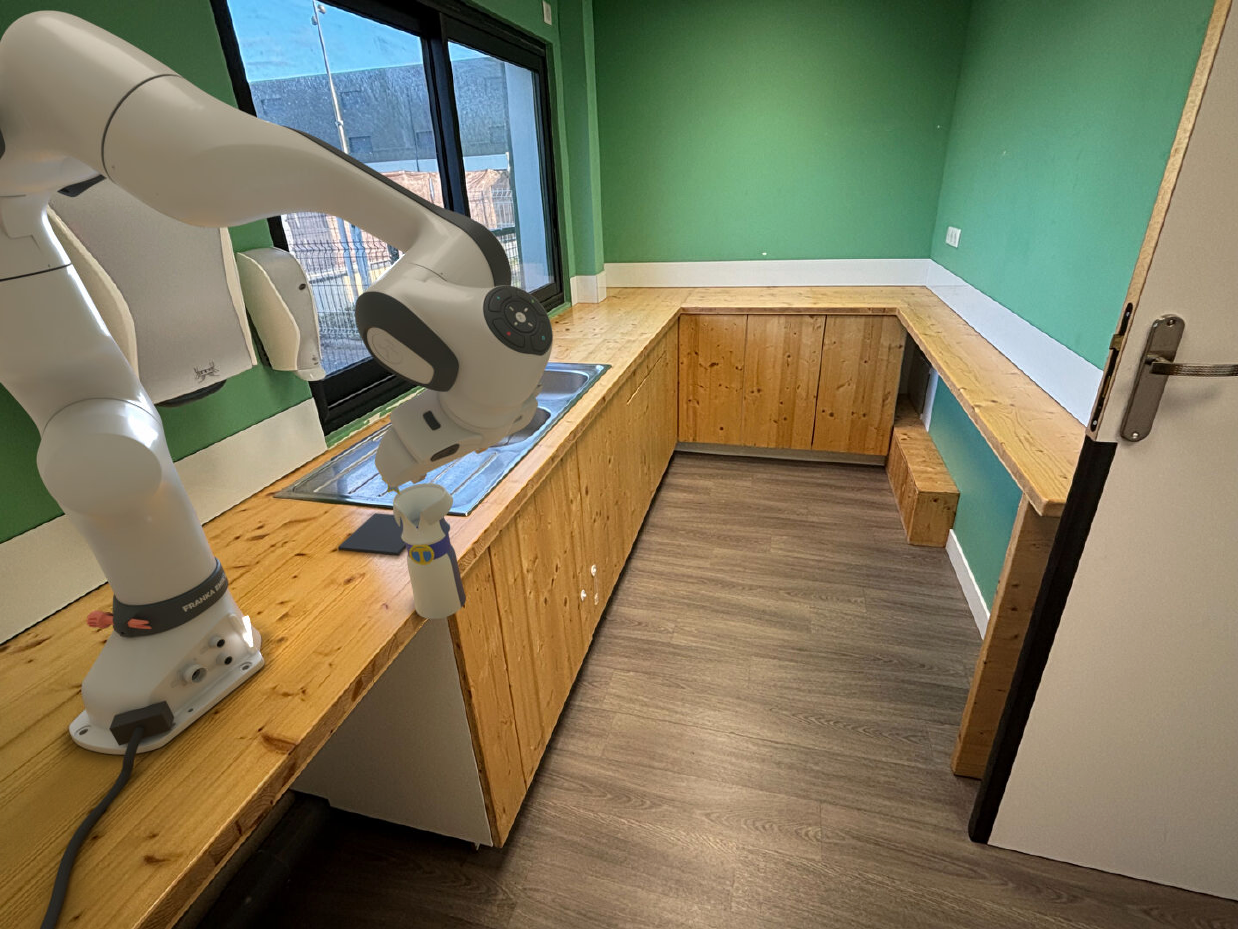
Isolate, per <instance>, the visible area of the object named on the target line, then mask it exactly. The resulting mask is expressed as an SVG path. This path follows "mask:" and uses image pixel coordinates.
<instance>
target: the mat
mask: <svg viewBox="0 0 1238 929" xmlns="http://www.w3.org/2000/svg"><path fill="white" fill-rule="evenodd" d="M402 531H403V521H402V519H401V516H400V527H399V525H398V524H397V522H396V519H395V517H394V514H388V513H374V514H373V515H371V516H370V517H368V519H367V520H365V522H364V523H362V524H361V525H360V526H359V527H358V528H357V529H356V530H354V532H352V533H351V534H350V535H349V536H348V537H347V538H346V539H345V540H344V541H342V543H340V544H339V545H338V546H337V549H338V551H349V552H360V553H370V554H381V555H391V556H399V555H400V554H402V552H403V551H404V550H406V549H407V548H406V544H405V542H404V541H403V540H402V538H401V533H402Z"/></svg>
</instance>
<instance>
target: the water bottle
mask: <svg viewBox="0 0 1238 929" xmlns="http://www.w3.org/2000/svg"><path fill="white" fill-rule="evenodd" d="M380 479H381V480H382V481H383V482H384V483H385V484H386V485H387V493H391V492H395V493H396V495H394V497H393V499H392V513H393V514H392V515H394V517H395V519H396V522H397V524H398V525H399V527H400V516H401V519H402V521H403V531H402V533H401V538H402V540H403V541H404V542H405V544H406V548H405V549H406V552H407V556H406V563H407V564H406V566H407V570H408V575H409V579H410V583H411V589H412V594H413V601H414V607H415V611H416V612H415V613H417V615H419V617H422V618H424V619H428V620H429V619H430V620H439V619H443V618H444V619H445V618H447V617H450V616H452V615H454V614H455V613H457V612H459V611H460V610H461V609H462V608H463V607H464V606H465V604H466V601H467V595H466V592H465V589H464V588H465V587H464V584H463V580H462V576H461V572H460V568H459V563H458V557H457V553H456V549H455V548H454V546H453V545H452V542H451V538H450V534H449V533H450V530H451V525H450V523H449V522H448V521H447V520H446V519H445V517H446V515H448V514H449V512H450V511H451V509H452V507H453V504H454V497H453V496H452V495H451V494H450V493H449V491H448V490H447V489H446V488H445V486H443V485H441V484H438V483H432V482H427V483H416V484H413V485H410V486H407V487H404V488H403V489H401V490H400V489H399V486H398V487H390V486H389V485H388V484H387V483H386V482H385V481H384V479H383V478H382V477H381V478H380Z"/></svg>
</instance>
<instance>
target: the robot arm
mask: <svg viewBox="0 0 1238 929" xmlns="http://www.w3.org/2000/svg"><path fill="white" fill-rule="evenodd" d="M106 179H107V180H109V181H110V182H111V183H113V184H115V185H116V186H118V187H119V188H121V189H122V190H123V191H125V192H127V193H128V194H129V195H131V196H132V197H134V198H135V199H137V200H139V201H140V202H141V203H143V204H145V205H146V206H148V207H149V208H151V209H153V210H155V211H156V212H158V213H160V214H162V215H163V216H166V217H169V218H171V219H173V220H175V221H177V222H181V223H184V224H187V225H190V226H193V227H198V228H205V229H207V228H209V229H223V228H225V229H226V228H233V227H239V226H243V225H246V224H247V225H248V224H249V223H253V222H257V221H261V220H265V219H269V218H273V217H278V216H279V217H280V216H283V215H291V214H301V213H316V214H317V213H318V214H325V215H329V216H333V217H336V218H338V219H341V220H343V221H345V222H347V223H349V224H351V225H352V226H354V227H356V228H358V229H359V230H361V231H363V232H365V233H367V234H369V235H370V236H372V237H374V238H376V239H377V240H380V241H381V242H383V243H385V244H387V245H389V246H391V247H392V248H394V249H396V250H398V251H400V252H401V253H403V254H402V256H400V257H399V258H398V259H397V261H395V262H394V263H393V264H392V265H391V266H388V268H386V269H385V270H384V271H383V272H382V274H380V275H379V276H378V277H377V278H375V280H374V281H373V282H372V283H371V284H370V285H369V286H368V287H367V288H366V289H365V290H364V291H363V292H362V293H361V294H359V296H358V297H357V299H356V301H355V303H354V318H355V323H356V328H357V331H358V333H359V336H360V338H361V340H362V343H363V345H364V346H365V348H366V350H367V351H368V353H369V355H370V356H371V358H372V359H373V360H374V361H375V362H376V363H377V364H378V365H379V366H381V367H382V368H383V369H385V370H386V371H387V372H389V373H390V374H392V375H394V376H395V377H397V378H399V379H401V380H403V381H404V382H407V383H409V384H413V385H415V386H418V387H421V388H424V389H425V390H423V391H422V392H421V393H419V394H417V395H415V396H413V397H412V398H410V399H409V400H407V401H405V402H403V403H402V404H400V405H398V406H397V407H394V408H393V409H392V411H391V412H390V413H389V421H390V423H391V426H390V427H389V428H388V429H387V430H386V431H385V432H384V434H383V435H382V437H381V439H380V442H379V444H378V447H377V449H376V454H375V457H374V466H375V469H376V470H377V472H378V474H379V475H380V477H381V478H383V479H384V481H385V482H386V483H387V484H388V485H389V486H390V487H398V488H399V487H400V486H403V485H405V484H406V483H409V482H411V483H412V484H413V485H417V484H419V483H420V482H422V481H424V480H425V479H426V477H427V475H428V473H430V472H433V471H435V470H437V469H439V468H441V467H443V466H445V465H447V464H449V463H453V462H454V461H456V460H458V459H461V458H463V457H465V456H467V455H469V454H471V453H474V452H475V454H476V455H479V454H482V453H484V452H486V451H488V449H489V448H490V447H493V446H495V445H498V443H500V442H501V441H502V440H503V439H504V438H506V437H508V436H510V435H512V434H515V433H516V432H519V431H520V430H523V429H524V428H525V427H527V426H528V425H529V424H530V423H531V421H532V419H533V418H534V416H535V415H536V412H537V409H538V407H539V401H538V399H537V397H538V396H539V395H540V393H541V392H542V390H543V387H544V386H543V383H542V382H541V378H542V376H543V375H544V372H545V370H546V368H547V366H548V363H549V361H550V358H551V354H552V350H553V343H554V332H553V326H552V322H551V319H550V317H549V315H548V312H547V311H546V309H545V308H544V306H543V305H542V304H541V302H539V300H538V299H537V298H536V297H535V296H533V295H532V294H531V293H529V292H528V291H526V290H525V289H523V288H520V287H517V286H514V285H512V282H513V275H512V269H511V264H510V261H509V257H508V254H507V252H506V250H505V248H504V246H503V244H502V242H501V241H500V240H499V239H498V237H497V236H496V234H494V233H493V232H492V231H491V230H490V229H489V228H488V227H487V226H485V225H484V224H482V223H481V222H479V221H477V220H476V219H474V218H471V217H469V216H466V215H464V214H461V213H459V212H457V211H452V210H450V209H447V208H444V207H441V206H439V205H437V204H435V203H433V202H431V201H430V200H428V199H426V198H423V197H422V196H420V195H419V194H417V193H415V192H413V191H411V190H410V189H408V188H406V187H404V186H403V185H402V184H400V183H398V182H396V181H395V180H393V179H391V178H389V177H387V176H386V175H384V174H382V173H381V172H380V171H377V170H376V169H374V168H372V167H370V166H368V165H367V164H366V163H364V162H362V161H360V160H359V159H356V158H355V157H353V156H351V155H350V154H349V153H347V152H345V151H342V150H341V149H339V148H337V147H336V146H334V145H332V144H330V143H328V142H326V141H324V140H323V139H320V138H318V137H317V136H314V135H312V134H310V133H308V132H305V131H303V130H301V129H297V128H293V127H289V126H286V125H280V124H277V123H273V122H271V121H268V120H265V119H262V118H260V117H256V116H255V115H252V114H249V113H247V112H245V111H242V110H240V109H239V108H237V107H234V106H232V105H230V104H227V103H226V102H224V101H222V100H220V99H218V98H216V97H215V96H212V95H211V94H209V93H208V92H206V91H204V90H203V89H201V88H199V87H198V86H197V85H195V84H193V83H192V82H191V81H189V80H188V79H186V78H185V77H183V76H182V75H181V74H179V73H177V72H176V71H175V70H173V69H171V68H170V67H169V66H168V65H166V64H164V63H163V62H161V61H160V60H158V59H156V58H155V57H153V56H152V55H150V54H148V53H146V52H145V51H143V50H142V49H140V48H138V47H137V46H135V45H134V44H131V43H130V42H128V41H127V40H124V39H123V38H121V37H119V36H117V35H116V34H114V33H111V32H110V31H108V30H106V29H104V28H102V27H101V26H98V25H96V24H94V23H91V22H89V21H88V20H86V19H83V18H81V17H79V16H76V15H74V14H71V13H68V12H64V11H59V10H38V11H34V12H29V13H27V14H24V15H22V16H21V17H19V18H17V19H16V20H15V21H13V22H12V23H11V24H10V25H8V27H7V29H6V30H5V31H4V33H3V35H2V37H1V39H0V384H1V385H2V386H3V387H4V388H5V389H6V390H7V391H8V392H9V393H10V395H12V397H13V398H14V399H15V400H16V401H17V402H18V404H19V405H20V406H21V407H22V408H23V409H24V411H25V412H26V413H27V414H28V415H29V417H30V419H31V420H32V421H33V422H34V424H35V425H36V428H37V430H38V432H39V436H40V442H39V446H38V449H37V453H36V466H37V470H38V473H39V476H40V478H41V481H42V482H43V485H44V486H45V488H46V490H47V491H48V493H49V494H50V496H51V497H52V498H53V499H54V500H55V501H56V503H57V504H58V506H59V507H60V509H61V510H62V512H63V513H64V514H65V516H66V517H67V519H68V520H69V522H70V523H71V524H72V525H73V527H74V528H75V529H76V531H77V532H78V533H79V534H80V535H81V537H82V538H83V539H84V541H85V542H86V544H87V545H88V547H89V549H90V550H91V551H92V553H93V556H94V558H95V560H96V561H97V563H98V565H99V567H100V569H101V571H102V573H103V575H104V577H105V578H106V580H107V583H108V584H109V586H110V588H111V590H112V592H113V597H112V610H111V611H112V612H110V611H101V610H93V611H92V612H91V611H90V613H89V614H88V615H87V617H86V620H85V622H86V625H87V626H88V627H89V628H99V629H101V630H102V629H104V630H105V629H108V628H109V627H111V626H112V629H113V630H112V632H111V634H110V635H109V637H108V639H107V640H106V642H105V643H104V646H103V647H102V649H101V650H100V652H99V654H98V656H97V657H96V659H95V661H94V662H93V664H92V666H91V668H90V669H89V671H88V672H87V674H86V676H85V677H84V678H83V680H82V683H81V685H80V686H81V688H80V693H81V699H82V703H83V707H84V710H83V711H82V712H81V713H80V714H78V716H76V718H75V719H74V720H73V721H72V722H71V723H70V724H69V726H68V730H69V734H70V737H71V739H72V741H73V742H74V743H75V744H76V745H77V746H79V747H82V748H83V749H86V750H89V751H92V752H95V753H101V754H107V755H108V754H109V755H119V756H120V755H123V758H122V767H121V770H120V772H119V775H118V777H117V779H116V780H115V782H114V783H113V785H112V787H111V788H110V790H109V791H108V792H107V793H106V795H105V796H104V797H103V798H102V800H101V801H100V802H99V803H98V804H97V805H96V806H95V807H94V809H92V811H91V812H90V813H89V814H88V815H87V816H86V817H85V818H84V820H83V821H82V822H81V823H80V825H79V826H78V828H77V829H76V831H75V832H74V834H72V837H71V838H70V840H69V842H68V844H67V846H66V848H65V850H64V852H63V855H62V857H61V859H60V862H59V865H58V868H57V872H56V876H55V879H54V884H53V888H52V891H51V895H50V899H49V903H48V906H47V909H46V912H45V914H44V918H43V919H42V922H41V925H40V927H39V929H55V926H56V924H57V921H58V919H59V916H60V914H61V911H62V908H63V904H64V900H65V896H66V893H67V888H68V883H69V880H70V875H71V871H72V868H73V864H74V862H75V859H76V856H77V853H78V851H79V849H80V847H81V844H82V842H83V841H84V839H85V838H86V836H87V834H88V833H89V831H90V830H91V828H92V827H93V826H94V825H95V823H96V822H97V821H98V820H99V819H100V817H101V816H102V815H103V814H104V813H105V812H106V810H107V809H108V808H109V807H110V805H111V804H112V803H113V801H114V800H115V799H116V797H117V796H118V795H119V794H120V792H121V791H122V790H123V788H124V787H125V786H126V784H127V782H128V781H129V779H130V777H131V774H132V772H133V769H134V764H135V758H136V754H141V753H147V752H150V751H153V750H158V749H160V748H162V747H164V746H165V745H166V744H168V743H169V742H170V741H172V740H173V739H174V738H175V737H177V736H178V735H180V733H182V732H184V730H185V729H187V728H188V727H189V726H190V725H192V724H193V723H194V722H196V721H197V720H198V719H200V718H201V717H202V716H203V715H204V714H206V713H207V712H208V711H209V710H210V709H212V708H213V707H214V706H216V705H217V704H218V703H219V702H221V701H222V700H223V699H225V698H226V697H227V696H228V695H229V694H231V693H232V692H233V691H235V690H236V689H237V688H238V687H239V686H241V685H242V684H243V683H245V682H246V681H247V680H249V678H251V677H252V676H254V674H256V673H257V672H258V671H260V670H261V669H262V668H263V667H264V666H265V661H266V660H265V658H264V656H263V655H262V653H261V647H262V636H261V633H260V632H259V630H258V629H257V628H255V626H254V625H253V624H252V623H251V619H250V617H249V615H245V614H244V613H243V612H242V610H241V608H240V607H239V606H238V604H237V603H236V601H235V599H234V597H233V595H232V593H231V591H230V589H229V588H228V587H229V579H228V576H227V574H226V572H225V569H224V567H223V565H222V563H221V561H220V559H219V558H218V557H216V556H214V553H213V550H212V548H211V545H210V543H209V540H208V538H207V536H206V533H205V530H204V528H203V525H202V524H201V521H200V518H199V515H198V513H197V511H196V509H195V508H194V505H193V503H192V501H191V499H190V497H189V494H188V492H187V491H186V488H185V486H184V484H183V482H182V480H181V477H180V475H179V473H178V470H177V468H176V465H175V464H174V461H173V458H172V456H171V453H170V449H169V447H168V443H167V439H166V434H165V430H164V425H163V420H162V418H161V415H160V413H159V412H158V410H157V408H156V406H155V404H154V403H153V401H152V399H151V398H150V396H149V394H148V393H147V391H146V389H145V388H144V386H143V384H142V383H141V381H140V379H139V377H138V375H137V374H136V372H135V371H134V369H133V367H132V366H131V364H130V362H129V361H128V359H127V357H126V356H125V354H124V353H123V351H122V350H121V349H120V346H119V345H118V344H117V342H116V340H115V339H114V337H113V335H112V333H111V332H110V330H109V329H108V327H107V325H106V323H105V321H104V319H103V318H102V316H101V313H100V312H99V310H98V309H97V307H96V304H95V303H94V301H93V299H92V297H91V296H90V293H89V292H88V290H87V288H86V287H85V285H84V283H83V281H82V279H81V278H80V276H79V274H78V272H77V270H76V269H75V266H74V265H73V263H72V261H71V259H70V258H69V255H68V254H67V252H66V251H65V249H64V247H63V246H62V244H61V242H60V240H59V239H58V237H57V236H56V234H55V232H54V231H53V228H52V225H51V224H50V221H49V218H48V210H47V209H48V204H49V202H50V200H51V198H52V197H53V196H54V194H56V193H58V194H59V195H63V196H66V197H69V198H76V197H78V196H79V195H81V194H83V193H84V192H85V191H87V190H88V189H90V188H92V187H93V186H96V185H97V184H100V183H101V182H103V181H105V180H106ZM384 481H383V482H384ZM385 482H384V483H385ZM386 483H385V484H386ZM387 484H386V485H387ZM388 485H387V486H388Z"/></svg>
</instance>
